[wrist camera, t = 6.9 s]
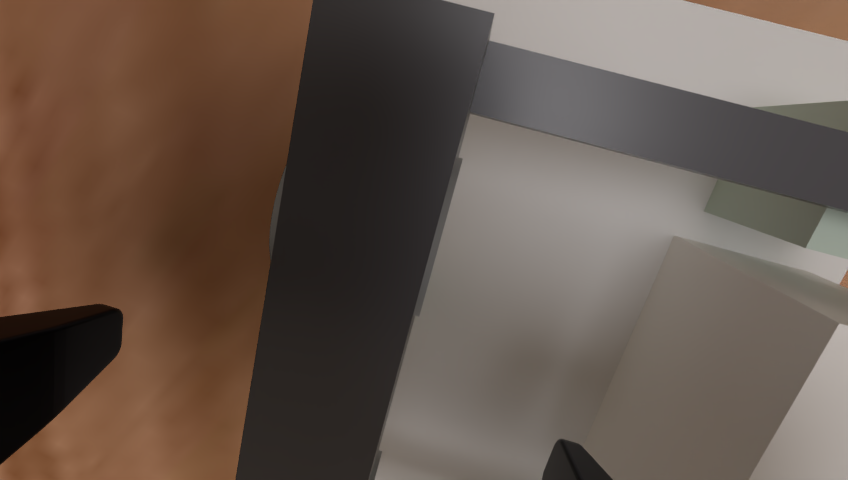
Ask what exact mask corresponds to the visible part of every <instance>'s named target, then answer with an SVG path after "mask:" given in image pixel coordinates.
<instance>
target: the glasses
mask: <svg viewBox="0 0 848 480" xmlns="http://www.w3.org/2000/svg"><path fill="white" fill-rule="evenodd" d="M494 14H495V13H491V12H487V11H483V10H479V9H475V8H472V7H468V6H464V5H460V4H456V3H452V2H448V1H444V0H313V5H312V11H311V17H310V23H309V30H308V36H307V42H306V48H305V54H304V60H303V67H302V73H301V79H300V85H299V91H298V97H297V104H296V110H295V116H294V122H293V128H292V134H291V141H290V147H289V153H288V159H287V165H286V167H285V169H284V172H283V175H282V178H281V181H280V184H279V187H278V191H277V194H276V198H275V203H274V207H273V213H272V218H271V226H270V239H269V248H270V259H271V264H270V270H269V276H268V282H267V289H266V295H265V301H264V307H263V313H262V319H261V326H260V332H259V338H258V344H257V350H256V356H255V363H254V369H253V375H252V381H251V387H250V393H249V400H248V406H247V412H246V418H245V424H244V430H243V437H242V443H241V449H240V455H239V461H238V467H237V474H236V480H375V476H376V472H377V469H378V465H379V462H380V458H381V454H382V451H380V450H379V447H380V443H381V440H382V436H383V432H384V429H385V425H386V421H387V418H388V414H389V410H390V407H391V403H392V399H393V396H394V392H395V388H396V385H397V381H398V377H399V374H400V370H401V366H402V363H403V359H404V355H405V352H406V348H407V344H408V341H409V337H410V333H411V330H412V326H413V322H414V319H415V316H418V317H419V316H420V312H421V309H422V305H423V302H424V298H425V294H426V291H427V287H428V284H429V280H430V276H431V273H432V269H433V266H434V262H435V258H436V255H437V251H438V247H439V244H440V240H441V237H442V233H443V229H444V226H445V222H446V218H447V215H448V211H449V208H450V204H451V200H452V197H453V193H454V189H455V186H456V182H457V178H458V175H459V171H460V167H461V164H462V160H463V158H459V153H460V150H461V146H462V142H463V139H464V135H465V131H466V128H467V124H468V120H469V117H470V114H473V115H476V116H480V117H484V118H488V119H492V120H495V121H499V122H503V123H507V124H511V125H514V126H518V127H522V128H526V129H530V130H533V131H537V132H541V133H545V134H549V135H552V136H556V137H560V138H564V139H568V140H571V141H575V142H579V143H583V144H587V145H591V146H594V147H598V148H602V149H606V150H610V151H613V152H617V153H621V154H625V155H629V156H632V157H636V158H640V159H644V160H648V161H651V162H655V163H659V164H663V165H667V166H670V167H674V168H678V169H682V170H686V171H689V172H693V173H697V174H701V175H705V176H708V177H712V178H716V179H720V180H724V181H727V182H731V183H735V184H739V185H743V186H746V187H750V188H754V189H758V190H762V191H765V192H769V193H773V194H777V195H781V196H784V197H788V198H792V199H796V200H800V201H803V202H807V203H811V204H815V205H819V206H822V207H826V208H830V209H834V210H838V211H841V212H845V213H848V132H845V131H841V130H838V129H834V128H830V127H826V126H822V125H818V124H814V123H810V122H806V121H802V120H798V119H794V118H791V117H787V116H783V115H779V114H775V113H771V112H767V111H763V110H759V109H755V108H751V107H748V106H744V105H740V104H736V103H732V102H728V101H724V100H720V99H716V98H712V97H708V96H705V95H701V94H697V93H693V92H689V91H685V90H681V89H677V88H673V87H669V86H665V85H662V84H658V83H654V82H650V81H646V80H642V79H638V78H634V77H630V76H626V75H622V74H618V73H615V72H611V71H607V70H603V69H599V68H595V67H591V66H587V65H583V64H579V63H575V62H572V61H568V60H564V59H560V58H556V57H552V56H548V55H544V54H540V53H536V52H532V51H529V50H525V49H521V48H517V47H513V46H509V45H505V44H501V43H497V42H493V41H489V40H490V34H491V29H492V24H493V19H494Z"/></svg>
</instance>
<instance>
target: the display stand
mask: <svg viewBox="0 0 848 480" xmlns="http://www.w3.org/2000/svg"><path fill="white" fill-rule="evenodd" d="M444 1H448V2H452V3H456V4H460V5H464V6H468V7H472V8H475V9H479V10H483V11H487V12H491V13H495V14H494V19H493V24H492V29H491V34H490V40H489V41H493V42H497V43H501V44H505V45H509V46H513V47H517V48H521V49H525V50H529V51H532V52H536V53H540V54H544V55H548V56H552V57H556V58H560V59H564V60H568V61H572V62H575V63H579V64H583V65H587V66H591V67H595V68H599V69H603V70H607V71H611V72H615V73H618V74H622V75H626V76H630V77H634V78H638V79H642V80H646V81H650V82H654V83H658V84H662V85H665V86H669V87H673V88H677V89H681V90H685V91H689V92H693V93H697V94H701V95H705V96H708V97H712V98H716V99H720V100H724V101H728V102H732V103H736V104H740V105H744V106H748V107H751V108H755V109H759V110H763V111H767V112H771V113H775V114H779V115H783V116H787V117H791V118H794V119H798V120H802V121H806V122H810V123H814V124H818V125H822V126H826V127H830V128H834V129H838V130H841V131H845V132H848V41H845V40H841V39H837V38H833V37H829V36H825V35H821V34H817V33H813V32H809V31H804V30H800V29H796V28H792V27H788V26H784V25H780V24H776V23H772V22H768V21H764V20H760V19H756V18H752V17H748V16H744V15H740V14H736V13H732V12H728V11H724V10H720V9H716V8H712V7H707V6H703V5H699V4H695V3H691V2H687V1H683V0H444ZM459 158H463V160H462V164H461V167H460V171H459V175H458V178H457V182H456V186H455V189H454V193H453V197H452V200H451V204H450V208H449V211H448V215H447V218H446V222H445V226H444V229H443V233H442V237H441V240H440V244H439V247H438V251H437V255H436V258H435V262H434V266H433V269H432V273H431V276H430V280H429V284H428V287H427V291H426V294H425V298H424V302H423V305H422V309H421V312H420V316H419V317H418V316H415V319H414V322H413V326H412V330H411V333H410V337H409V341H408V344H407V348H406V352H405V355H404V359H403V363H402V366H401V370H400V374H399V377H398V381H397V385H396V388H395V392H394V396H393V399H392V403H391V407H390V410H389V414H388V418H387V421H386V425H385V429H384V432H383V436H382V440H381V443H380V447H379V450H380V451H382V454H381V458H380V462H379V465H378V469H377V472H376V476H375V480H542V476H543V472H544V469H545V466H546V464H547V462H548V459H549V457H550V454H551V452H552V449H553V447H554V445H555V443H556V442H557V440H559V439H565V440H568V441H572V442H575V443H578V444H580V445H581V446H582V447H583V448H584V449H585V450H586V451H587V452H588V453H589V454H590V455H591V456H592V457H593V458H594V460H595V461H596V462H597V463H598V464H599V465H600V466H601V467H602V468H603V469H604V470H605V471H606V473H607V474H608V475H609V476H610V477H611V478H612V479H613V480H848V288H846V287H843V286H841V285H839V284H840V282H841V280H842V278H843V277H844V275H845V273H846V271H847V270H848V213H845V212H841V211H838V210H834V209H830V208H826V207H822V206H819V205H815V204H811V203H807V202H803V201H800V200H796V199H792V198H788V197H784V196H781V195H777V194H773V193H769V192H765V191H762V190H758V189H754V188H750V187H746V186H743V185H739V184H735V183H731V182H727V181H724V180H720V179H716V178H712V177H708V176H705V175H701V174H697V173H693V172H689V171H686V170H682V169H678V168H674V167H670V166H667V165H663V164H659V163H655V162H651V161H648V160H644V159H640V158H636V157H632V156H629V155H625V154H621V153H617V152H613V151H610V150H606V149H602V148H598V147H594V146H591V145H587V144H583V143H579V142H575V141H571V140H568V139H564V138H560V137H556V136H552V135H549V134H545V133H541V132H537V131H533V130H530V129H526V128H522V127H518V126H514V125H511V124H507V123H503V122H499V121H495V120H492V119H488V118H484V117H480V116H476V115H473V114H470V117H469V120H468V124H467V128H466V131H465V135H464V139H463V142H462V146H461V150H460V153H459Z"/></svg>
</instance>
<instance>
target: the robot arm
mask: <svg viewBox="0 0 848 480" xmlns="http://www.w3.org/2000/svg"><path fill="white" fill-rule="evenodd" d="M122 327H123V314H122V312H121V311H120V310H119V309H117V308H114V307H110V306H107V305H103V304H94V305H87V306H80V307H72V308H65V309H57V310H50V311H42V312H35V313H28V314H20V315H13V316H5V317H0V464H2V463H3V462H4V461H5V460H6V459H8V458H9V457H10V456H11V455H12V454H13V453H15V452H16V451H17V450H18V449H19V448H20V447H22V446H23V445H24V444H25V443H26V442H28V441H29V440H30V439H31V438H32V437H33V436H35V435H36V434H37V433H38V432H39V431H40V430H42V429H43V428H44V427H45V426H46V425H47V424H48V423H50V422H51V421H52V420H53V419H54V418H55V417H56V416H57V415H58V414H59V413H60V412H61V411H62V410H63V409H64V408H65V407H66V406H67V405H68V404H69V403H70V402H71V401H72V400H73V399H74V398H75V397H76V396H77V395H78V394H79V393H80V392H81V391H82V390H83V389H84V388H85V387H86V386H87V385H88V384H89V383H90V382H91V381H92V380H93V379H94V378H95V377H96V376H97V375H98V374H99V373H100V372H101V371H102V370H103V369H104V368H105V367H106V366H107V365H108V364H109V363H110V362H111V361H112V360H113V359H114V358H115V357H116V356H117V354H118V352H119V350H120V348H121V342H122ZM542 480H613V479H612V478H611V477H610V476H609V475H608V474H607V473H606V471H605V470H604V469H603V468H602V467H601V466H600V465H599V464H598V463H597V462H596V461H595V460H594V458H593V457H592V456H591V455H590V454H589V453H588V452H587V451H586V450H585V449H584V448H583V447H582V446H581V445H580V444H578V443H575V442H572V441H568V440H565V439H559V440H557V442H556V443H555V445H554V447H553V449H552V452H551V454H550V457H549V459H548V462H547V464H546V466H545V469H544V472H543V476H542Z"/></svg>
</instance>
